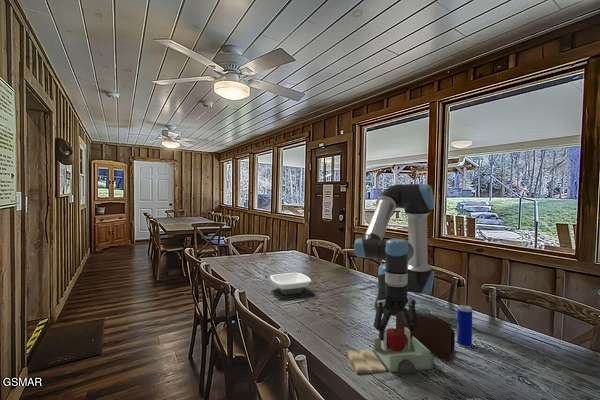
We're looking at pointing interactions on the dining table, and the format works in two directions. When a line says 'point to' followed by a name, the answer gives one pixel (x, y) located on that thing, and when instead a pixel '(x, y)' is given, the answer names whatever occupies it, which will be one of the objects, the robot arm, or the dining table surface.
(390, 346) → the tomato
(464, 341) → the beverage can
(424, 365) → the box
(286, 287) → the bowl
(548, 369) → the dining table surface
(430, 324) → the letter holder
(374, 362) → the panel
